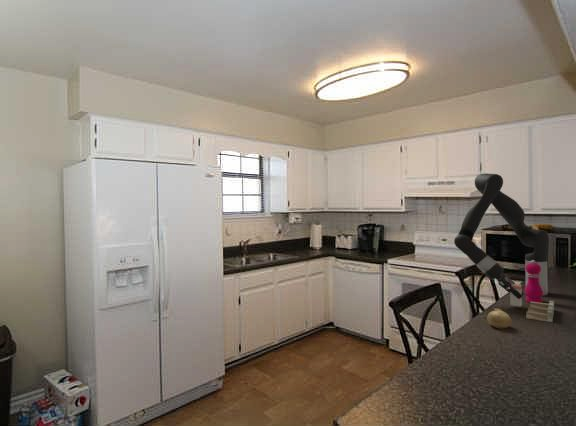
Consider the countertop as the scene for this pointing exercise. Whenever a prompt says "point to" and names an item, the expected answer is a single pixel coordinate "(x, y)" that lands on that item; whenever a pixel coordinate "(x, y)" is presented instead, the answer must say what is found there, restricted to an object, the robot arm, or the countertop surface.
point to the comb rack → (541, 311)
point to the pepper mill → (533, 283)
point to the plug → (514, 299)
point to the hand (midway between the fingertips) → (521, 296)
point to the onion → (499, 319)
